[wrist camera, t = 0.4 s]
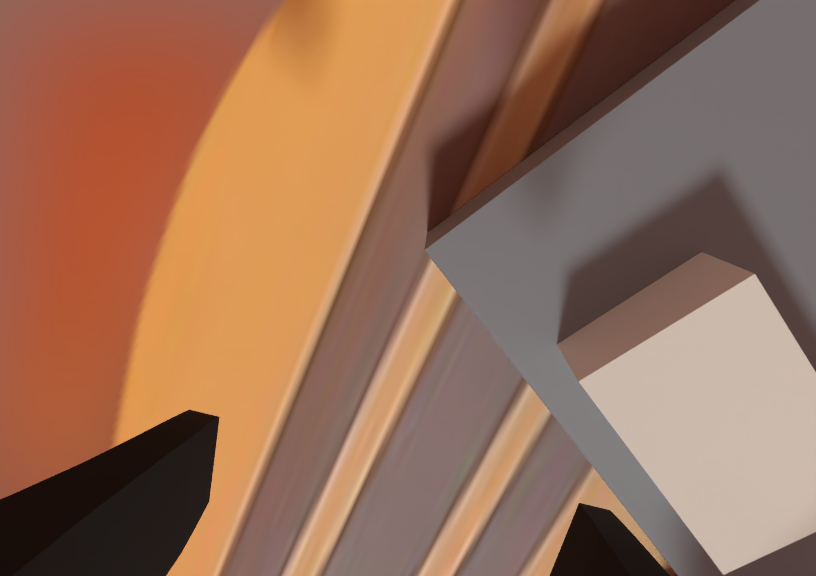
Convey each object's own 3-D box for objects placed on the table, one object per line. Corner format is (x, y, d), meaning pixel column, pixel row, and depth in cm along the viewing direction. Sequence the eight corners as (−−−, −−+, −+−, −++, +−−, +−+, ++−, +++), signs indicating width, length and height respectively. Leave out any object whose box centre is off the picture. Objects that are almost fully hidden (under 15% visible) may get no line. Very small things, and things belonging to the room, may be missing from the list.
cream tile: (823, 442, 16) (892, 496, 13) (682, 513, 17) (723, 575, 14) (701, 251, 14) (755, 273, 12) (556, 344, 15) (578, 381, 13)
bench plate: (963, 415, 18) (1061, 466, 15) (675, 556, 21) (713, 621, 18) (734, 0, 15) (805, -35, 12) (427, 232, 17) (424, 249, 15)
